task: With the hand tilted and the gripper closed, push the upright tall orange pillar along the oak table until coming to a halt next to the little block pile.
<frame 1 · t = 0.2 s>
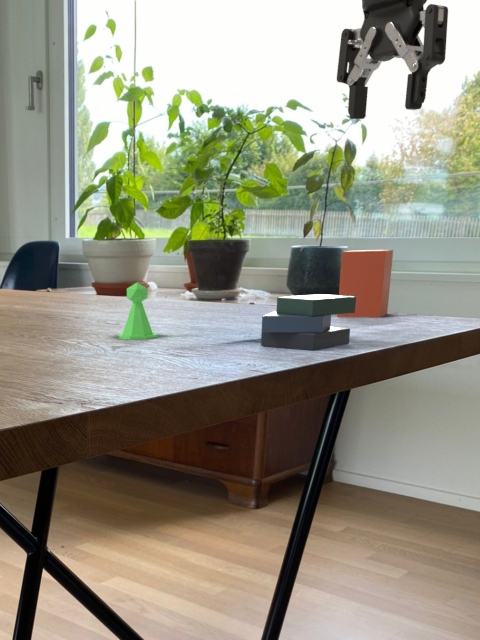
hand: (384, 114, 103), 24 cm above the table, tool pointing down, fingers open, 8 cm apart
game piece: (137, 343, 87), on the table
block pile: (304, 344, 81), on the table
tall orange pillar: (362, 319, 102), on the table
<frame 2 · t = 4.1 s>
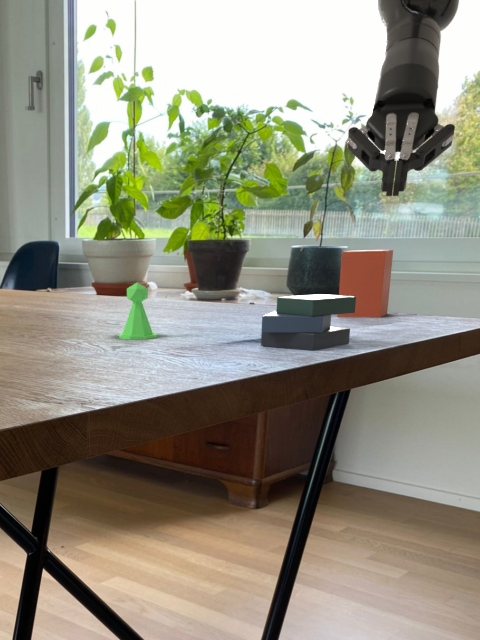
hand: (393, 190, 99), 15 cm above the table, tool tilted 45°, fingers closed
nothing on the table moved.
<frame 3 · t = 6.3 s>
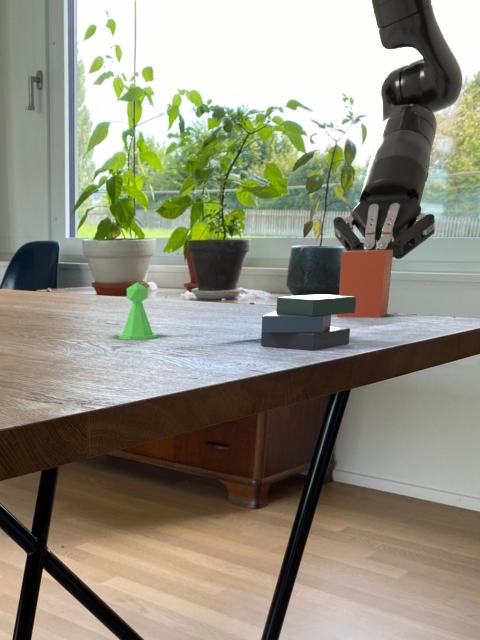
hand: (369, 279, 103), 5 cm above the table, tool tilted 45°, fingers closed
tall orange pillar: (362, 319, 102), on the table, touching gripper
everything else where it was.
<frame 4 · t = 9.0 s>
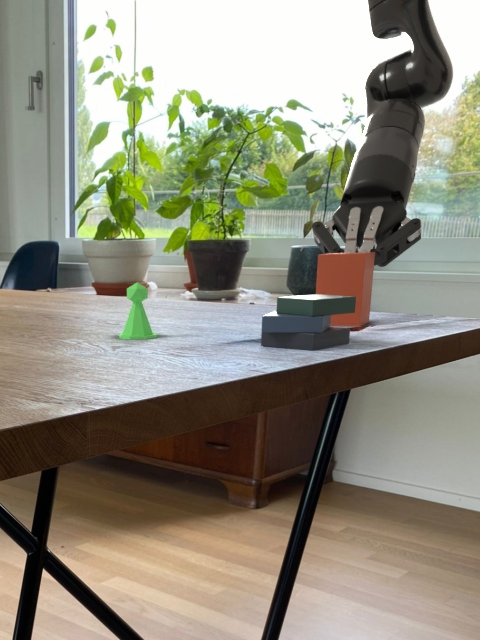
hand: (349, 289, 95), 4 cm above the table, tool tilted 45°, fingers closed
tall orange pillar: (341, 327, 94), on the table, touching gripper
everything else where it was.
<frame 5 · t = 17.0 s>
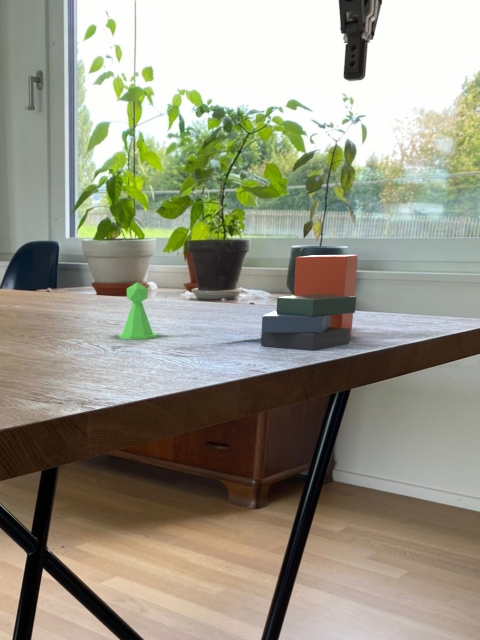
hand: (354, 79, 97), 27 cm above the table, tool pointing down, fingers closed
tall orange pillar: (321, 336, 87), on the table
everything else where it was.
at the end: tall orange pillar 7.3 cm from the block pile (horizontally); tall orange pillar tilted 0°; tall orange pillar moved 19.1 cm from its start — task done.
